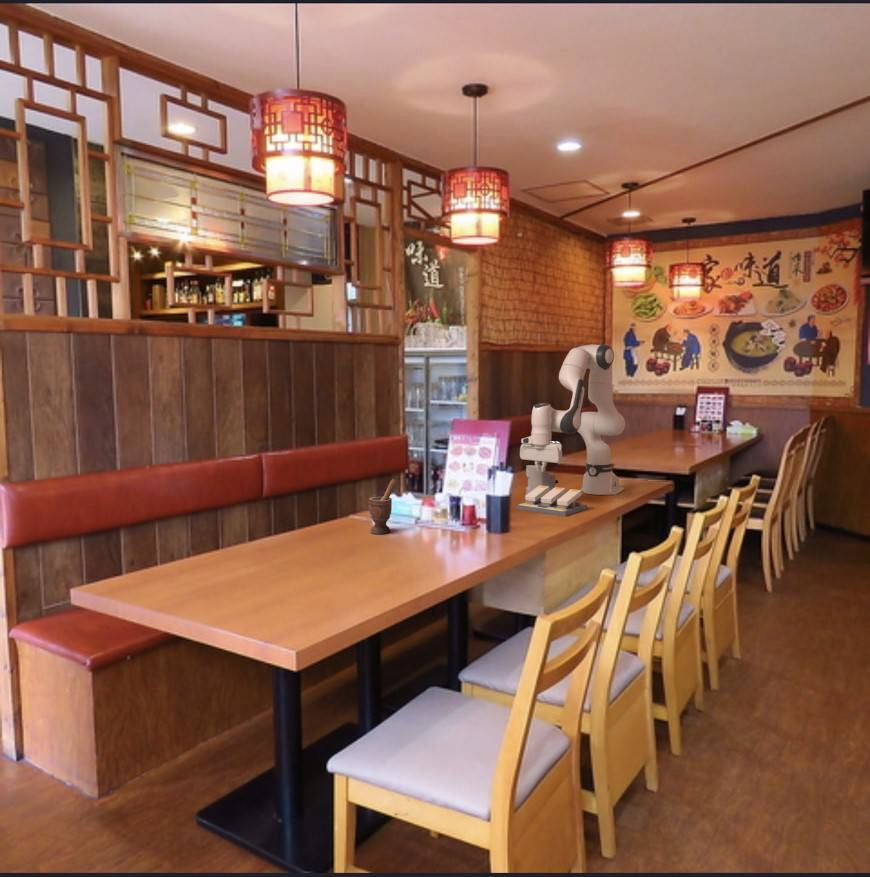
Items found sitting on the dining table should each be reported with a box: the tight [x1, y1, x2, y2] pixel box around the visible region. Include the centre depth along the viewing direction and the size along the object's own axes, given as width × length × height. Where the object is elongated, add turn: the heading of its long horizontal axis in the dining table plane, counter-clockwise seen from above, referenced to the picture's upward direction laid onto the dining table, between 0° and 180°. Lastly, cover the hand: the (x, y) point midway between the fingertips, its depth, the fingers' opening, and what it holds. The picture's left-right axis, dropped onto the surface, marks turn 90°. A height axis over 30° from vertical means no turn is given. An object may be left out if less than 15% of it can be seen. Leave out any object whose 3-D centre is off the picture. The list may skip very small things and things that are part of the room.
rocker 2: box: [541, 486, 566, 504], centre depth 318 cm, size 12×5×2 cm, turn 139°
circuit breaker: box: [525, 464, 559, 497], centre depth 342 cm, size 8×14×15 cm, turn 89°
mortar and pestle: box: [368, 478, 399, 535], centre depth 280 cm, size 12×9×20 cm
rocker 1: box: [524, 485, 550, 501], centre depth 323 cm, size 12×5×2 cm, turn 139°
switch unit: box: [516, 498, 588, 517], centre depth 317 cm, size 18×24×5 cm
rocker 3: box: [557, 488, 583, 506], centre depth 312 cm, size 12×5×2 cm, turn 139°
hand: (540, 471), depth 324 cm, fingers closed
